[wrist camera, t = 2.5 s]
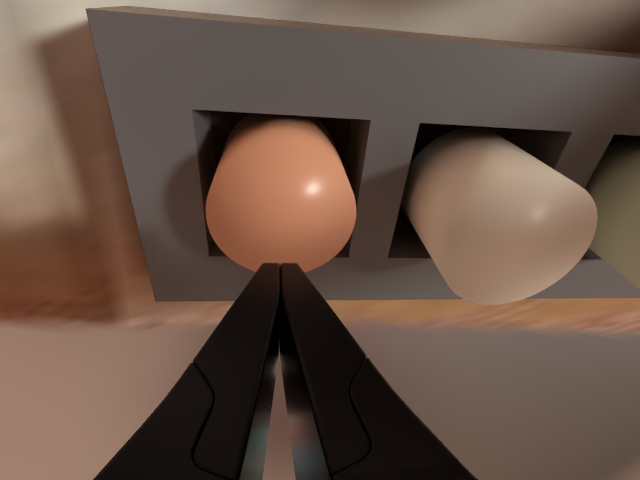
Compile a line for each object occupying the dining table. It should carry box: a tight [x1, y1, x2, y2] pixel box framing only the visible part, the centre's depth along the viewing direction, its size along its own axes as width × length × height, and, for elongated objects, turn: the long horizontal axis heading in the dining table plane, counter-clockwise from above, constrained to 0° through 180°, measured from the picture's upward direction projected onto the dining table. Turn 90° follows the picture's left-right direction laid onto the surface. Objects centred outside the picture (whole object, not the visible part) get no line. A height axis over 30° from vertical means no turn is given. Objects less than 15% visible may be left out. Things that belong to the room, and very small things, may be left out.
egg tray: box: [86, 6, 640, 301], centre depth 14 cm, size 24×10×3 cm, turn 85°
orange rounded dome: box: [206, 113, 356, 272], centre depth 13 cm, size 5×5×4 cm
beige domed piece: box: [401, 128, 598, 305], centre depth 12 cm, size 5×5×4 cm
